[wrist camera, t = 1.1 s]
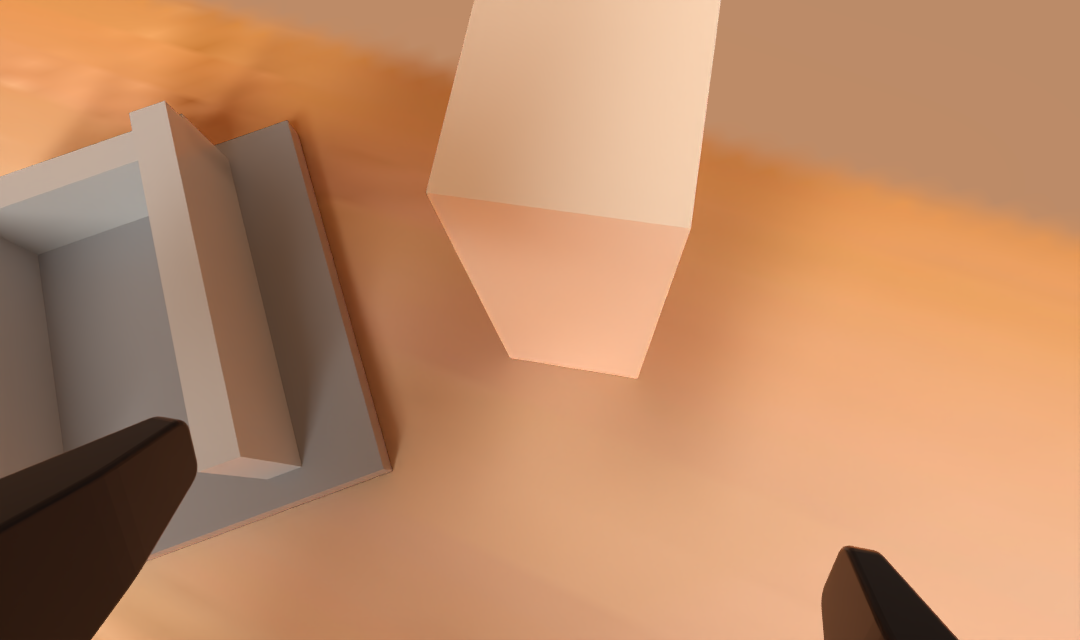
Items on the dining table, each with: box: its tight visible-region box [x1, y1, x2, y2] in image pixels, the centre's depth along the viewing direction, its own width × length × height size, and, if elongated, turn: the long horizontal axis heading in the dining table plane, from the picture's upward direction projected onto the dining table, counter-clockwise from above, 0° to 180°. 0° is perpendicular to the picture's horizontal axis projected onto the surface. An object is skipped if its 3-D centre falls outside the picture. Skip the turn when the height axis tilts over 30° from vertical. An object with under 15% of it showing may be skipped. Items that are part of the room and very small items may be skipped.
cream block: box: [426, 0, 721, 379], centre depth 18 cm, size 5×4×12 cm
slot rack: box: [0, 101, 392, 561], centre depth 22 cm, size 14×14×5 cm
